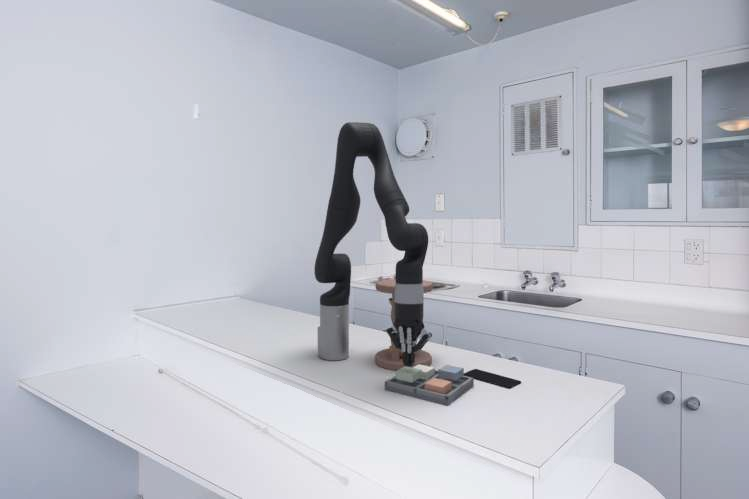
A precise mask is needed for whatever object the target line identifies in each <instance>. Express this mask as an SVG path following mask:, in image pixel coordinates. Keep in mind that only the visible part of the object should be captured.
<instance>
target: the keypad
mask: <svg viewBox="0 0 749 499" xmlns="http://www.w3.org/2000/svg"><path fill="white" fill-rule="evenodd" d="M413 367H415V366H413ZM413 367H411V368H413ZM438 370H439V369H435V375H433V376H431V377H430V378H428V379H427V378H423V377H421V378H419V379H417V380H416V381H414V382H407V381H403V380H399V379H395V376H396V375H394V376H392V377H391V378H388V379H387V380H385V381H384V390H385V391H389V392H392V393H397V394H400V395H405V396H409V397H413V398H415V399H419V400H425V401H429V402H432V403H434V404H435V403H437V404H441V405H442V406H443V405H445V406H446V407H447V406H449V405H451V404H452V403H453V402H454V401H456V400H457V399H459V398H460V397H461V396H462V395H463V394H465V393H466V392H467V391H469V390H470V389H472V387H474V385H475V384H474V383H475V382H474V380H475V379H474V378H472V377H467V376H462V377H461V378H459V379H458V380H456V381H454V380H450V379H445V378H440V377H438ZM433 378H437V379H442V380H447V381H451V390H450V391H448V392H447V393H445V394H440V393H436V392H432V391H428V390H425V383H426V382H428V381H429V380H431V379H433Z"/></svg>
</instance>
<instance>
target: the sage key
mask: <svg viewBox="0 0 749 499" xmlns="http://www.w3.org/2000/svg"><path fill="white" fill-rule="evenodd" d="M394 376H395V379H399V380H403V381H407V382H414V381H416V380H417V379H419V378H421V377H422V370H421V369H416V368H411V367H406V366H405V367H403V368H401V369H399V370H397V371H396V370H395V375H394Z"/></svg>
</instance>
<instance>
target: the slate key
mask: <svg viewBox="0 0 749 499" xmlns="http://www.w3.org/2000/svg"><path fill="white" fill-rule="evenodd" d="M437 370H438V377H440V378H445V379H450V380H454V381H456V380H458V379H459V378H461V377H462V376H464V373H465V372H464V370H465V369H464V367H461V366H455V365H450V364H445V365H444V366H442V367H440V368H439V369H437Z"/></svg>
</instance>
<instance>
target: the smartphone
mask: <svg viewBox="0 0 749 499" xmlns="http://www.w3.org/2000/svg"><path fill="white" fill-rule="evenodd" d="M464 376H467V377H472V378H474V380H476V381H479V382H482V383H487V384H490V385H493V386H497V387H501V388H504V389H508V390H511V389H514V387H517V386H519V385H521V384H522V381H521V380H519V379H514V378H512V377H507V376H503V375H499V374H496V373H492V372H488V371H485V370H483V369H478V368H474V369H471V370H469V371H466V372H464Z"/></svg>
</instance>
